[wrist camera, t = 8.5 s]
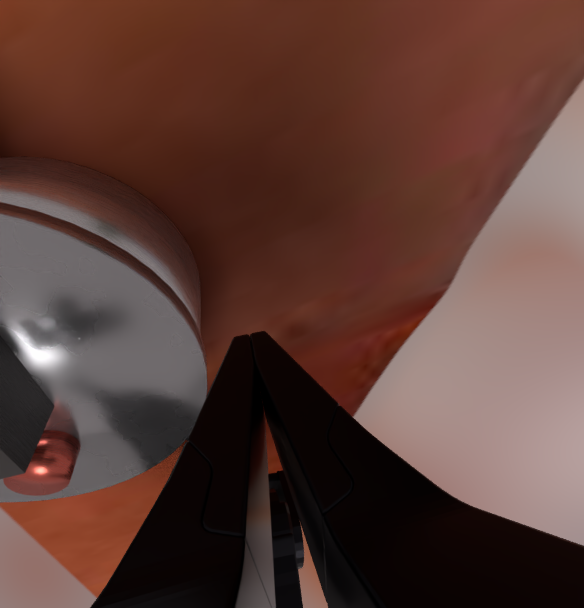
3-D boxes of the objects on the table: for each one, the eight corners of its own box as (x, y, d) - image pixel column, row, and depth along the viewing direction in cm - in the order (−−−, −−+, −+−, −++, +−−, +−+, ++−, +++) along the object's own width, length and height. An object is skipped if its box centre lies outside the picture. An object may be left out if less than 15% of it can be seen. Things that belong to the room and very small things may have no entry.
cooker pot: (220, 353, 26) (226, 431, 20) (8, 397, 24) (-52, 498, 18) (131, 24, 15) (86, -7, 9) (-288, 55, 13) (-686, 41, 7)
